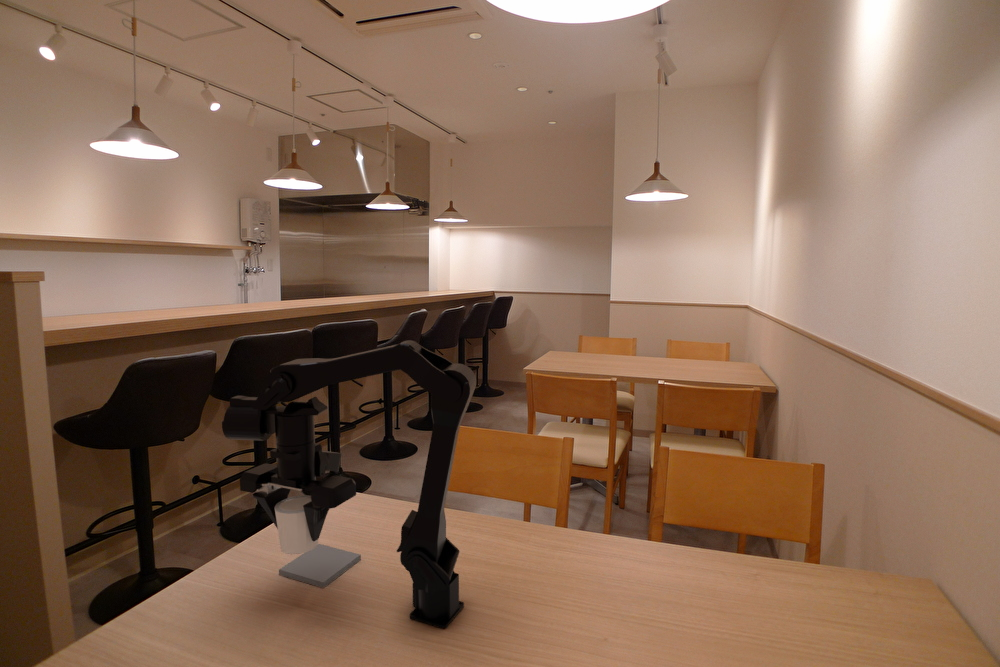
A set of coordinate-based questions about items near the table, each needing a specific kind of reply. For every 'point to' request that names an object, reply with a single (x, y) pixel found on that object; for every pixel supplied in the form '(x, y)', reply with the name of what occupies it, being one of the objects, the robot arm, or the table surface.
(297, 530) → the white cup
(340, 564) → the slate plate
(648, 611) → the table surface
